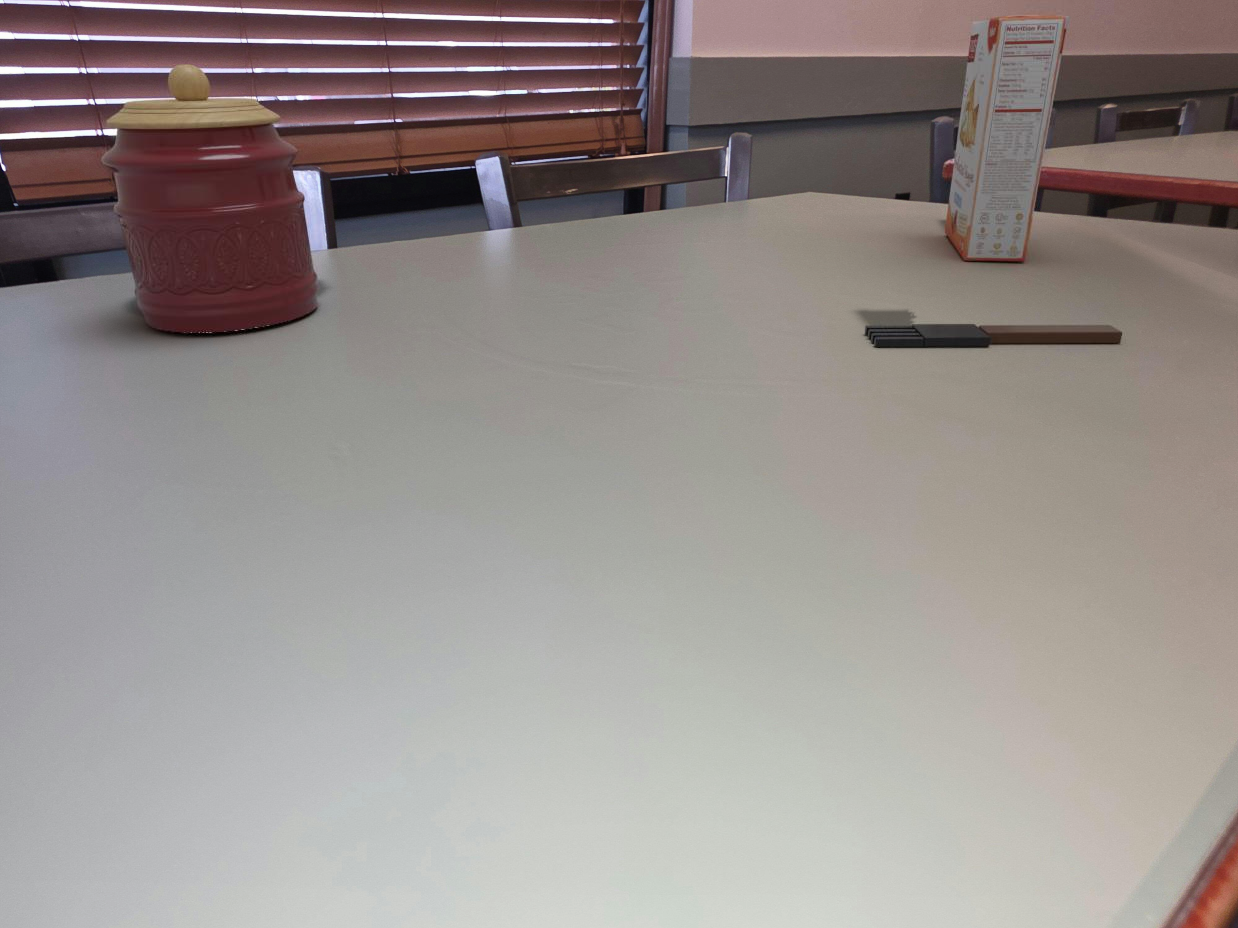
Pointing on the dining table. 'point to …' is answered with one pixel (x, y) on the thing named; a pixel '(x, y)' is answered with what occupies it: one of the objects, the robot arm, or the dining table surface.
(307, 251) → the kitchen canister
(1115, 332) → the fork
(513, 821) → the dining table surface
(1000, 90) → the cracker box
